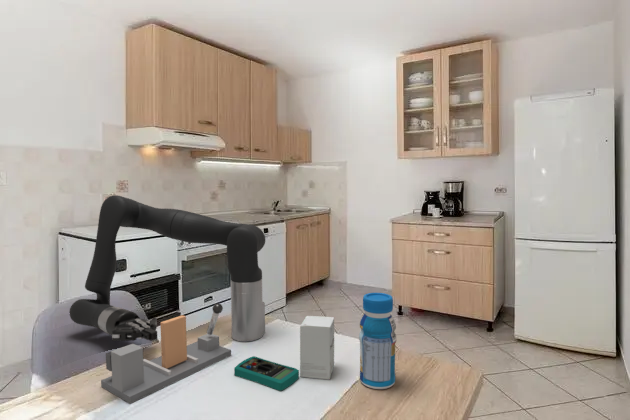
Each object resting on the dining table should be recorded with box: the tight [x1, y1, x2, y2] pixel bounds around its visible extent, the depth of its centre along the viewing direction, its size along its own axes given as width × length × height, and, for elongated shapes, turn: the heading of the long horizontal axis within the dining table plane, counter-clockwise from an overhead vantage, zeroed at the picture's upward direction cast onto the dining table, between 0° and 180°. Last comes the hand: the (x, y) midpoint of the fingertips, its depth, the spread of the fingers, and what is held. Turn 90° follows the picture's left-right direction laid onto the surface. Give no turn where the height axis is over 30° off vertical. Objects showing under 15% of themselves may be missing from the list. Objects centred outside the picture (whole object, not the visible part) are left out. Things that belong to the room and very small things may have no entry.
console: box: [100, 333, 232, 405], centre depth 97 cm, size 28×12×10 cm, turn 144°
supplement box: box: [299, 315, 335, 380], centre depth 95 cm, size 7×7×13 cm
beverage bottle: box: [358, 292, 397, 390], centre depth 90 cm, size 8×8×20 cm
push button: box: [105, 351, 112, 372], centre depth 89 cm, size 4×2×4 cm, turn 144°
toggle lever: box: [206, 303, 224, 335], centre depth 104 cm, size 3×3×10 cm
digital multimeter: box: [233, 355, 300, 392], centre depth 93 cm, size 7×15×3 cm, turn 58°
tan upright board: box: [159, 314, 188, 369], centre depth 96 cm, size 6×2×11 cm, turn 144°
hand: (154, 336), depth 100 cm, fingers closed
